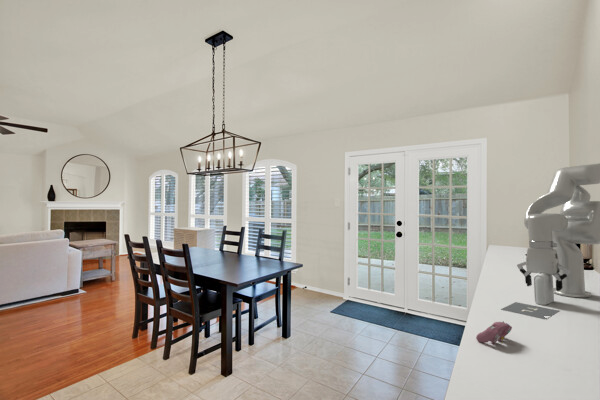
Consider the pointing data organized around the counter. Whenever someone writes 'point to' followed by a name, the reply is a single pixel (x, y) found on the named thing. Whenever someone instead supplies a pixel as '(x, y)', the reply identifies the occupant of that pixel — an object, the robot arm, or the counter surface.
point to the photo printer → (543, 288)
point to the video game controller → (494, 332)
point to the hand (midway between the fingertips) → (543, 287)
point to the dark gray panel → (530, 310)
